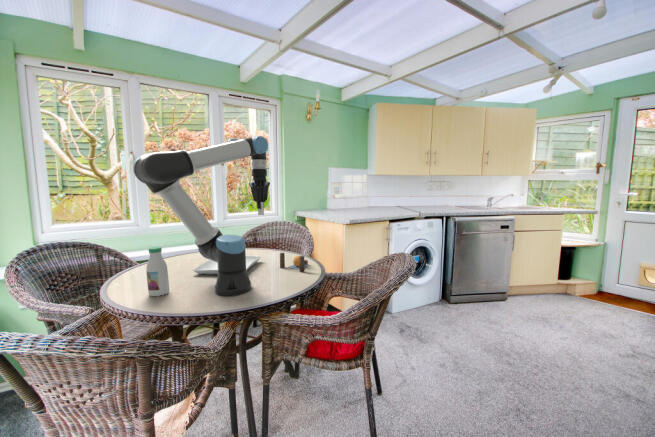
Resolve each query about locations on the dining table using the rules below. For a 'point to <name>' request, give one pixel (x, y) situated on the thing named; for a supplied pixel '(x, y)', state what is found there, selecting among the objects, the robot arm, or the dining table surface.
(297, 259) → the ball
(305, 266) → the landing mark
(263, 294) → the dining table surface
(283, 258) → the post left
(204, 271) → the square plate
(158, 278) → the milk bottle
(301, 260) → the post right
